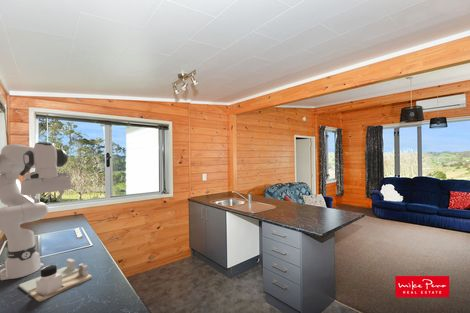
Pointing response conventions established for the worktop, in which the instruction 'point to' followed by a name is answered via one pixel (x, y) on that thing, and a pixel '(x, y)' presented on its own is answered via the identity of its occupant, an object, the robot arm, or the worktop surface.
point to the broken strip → (64, 271)
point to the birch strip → (66, 282)
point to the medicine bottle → (48, 280)
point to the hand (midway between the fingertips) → (48, 201)
